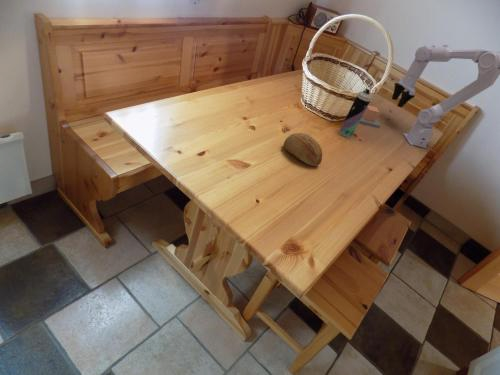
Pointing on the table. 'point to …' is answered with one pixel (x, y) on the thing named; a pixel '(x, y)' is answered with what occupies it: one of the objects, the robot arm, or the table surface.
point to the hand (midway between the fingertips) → (396, 102)
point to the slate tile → (370, 122)
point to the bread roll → (304, 148)
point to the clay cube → (370, 113)
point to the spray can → (355, 113)
